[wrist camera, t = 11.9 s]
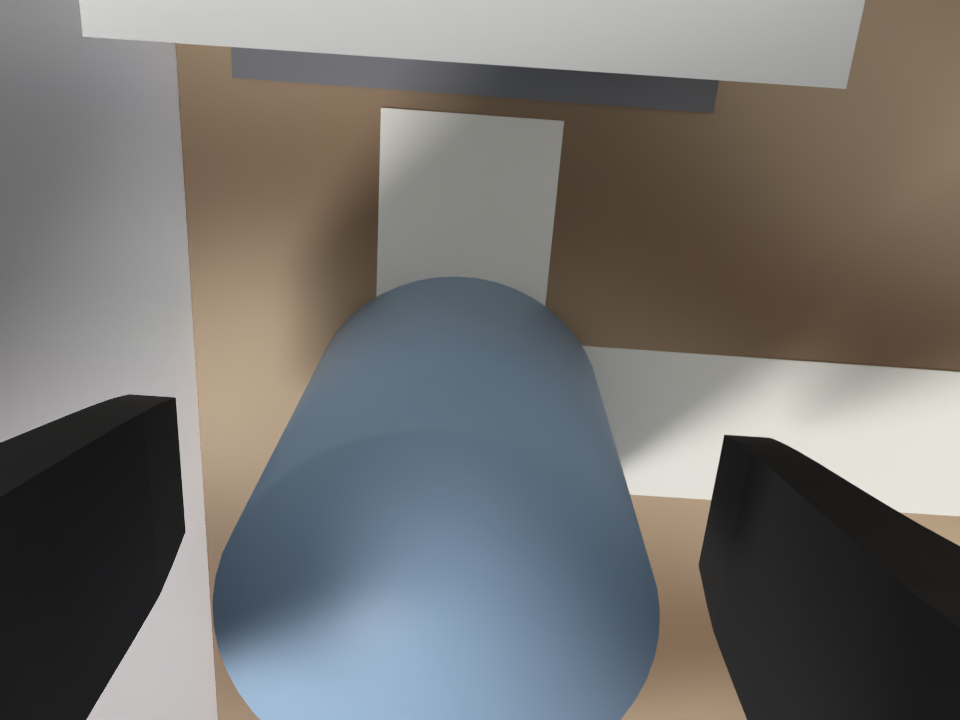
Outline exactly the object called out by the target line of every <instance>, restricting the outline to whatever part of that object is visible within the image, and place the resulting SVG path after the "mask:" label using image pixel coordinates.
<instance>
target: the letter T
mask: <svg viewBox="0 0 960 720" xmlns="http://www.w3.org/2000/svg"><path fill="white" fill-rule="evenodd" d="M563 128H564V121H559V120H545V119H531V118H518V117H504V116H490V115H476V114H462V113H449V112H435V111H421V110H407V109H393V108H381V124H380V166H379V209H378V251H377V294H376V297H378V296H379V295H381V294H383V293H385V292H387V291H390V290H392V289H394V288H396V287H398V286H402V285H405V284H408V283H412V282H415V281H419V280H425V279H430V278H436V277H468V278H478V279H483V280H487V281H492V282H497V283H500V284H502V285H505V286H508V287H511V288H514V289H516V290H518V291H520V292H522V293H524V294H526V295H528V296H530V297H532V298H534V299H535V300H537V301H538V302H540V303H541V304H543V305H544V306H545V303H546V293H547V284H548V274H549V264H550V254H551V245H552V235H553V225H554V215H555V206H556V196H557V186H558V176H559V167H560V157H561V147H562V137H563ZM582 347H583V349H584V350H585V352H586V354H587V356H588V358H589V361H590V363H591V365H592V367H593V371H594V374H595V377H596V381H597V384H598V388H599V391H600V394H601V398H602V401H603V405H604V408H605V411H606V415H607V418H608V422H609V425H610V428H611V432H612V435H613V439H614V442H615V446H616V449H617V452H618V456H619V459H620V463H621V466H622V469H623V473H624V476H625V480H626V483H627V486H628V490H629V493H630V495H644V496H659V497H674V498H689V499H705V500H711V499H712V494H713V489H714V484H715V479H716V474H717V469H718V464H719V459H720V454H721V449H722V444H723V439H724V435H736V436H751V437H766V438H772V439H775V440H777V441H779V442H782V443H784V444H786V445H788V446H790V447H791V448H793V449H795V450H797V451H799V452H800V453H802V454H804V455H806V456H807V457H809V458H811V459H812V460H814V461H816V462H817V463H819V464H821V465H822V466H824V467H826V468H827V469H829V470H831V471H832V472H834V473H835V474H837V475H839V476H840V477H842V478H844V479H845V480H847V481H848V482H850V483H852V484H853V485H855V486H857V487H858V488H860V489H861V490H863V491H865V492H866V493H868V494H870V495H871V496H873V497H875V498H876V499H878V500H880V501H881V502H883V503H885V504H886V505H888V506H890V507H891V508H893V509H895V510H896V511H898V512H901V513H916V514H931V515H946V516H960V372H958V371H943V370H929V369H914V368H900V367H885V366H870V365H856V364H841V363H827V362H812V361H798V360H783V359H769V358H754V357H740V356H725V355H710V354H696V353H681V352H667V351H652V350H638V349H623V348H609V347H594V346H582Z"/></svg>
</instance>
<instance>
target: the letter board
mask: <svg viewBox="0 0 960 720" xmlns="http://www.w3.org/2000/svg"><path fill="white" fill-rule="evenodd" d="M176 57H177V73H178V89H179V105H180V121H181V137H182V153H183V169H184V185H185V201H186V217H187V233H188V249H189V265H190V281H191V297H192V313H193V329H194V345H195V361H196V377H197V393H198V409H199V425H200V441H201V457H202V473H203V489H204V505H205V521H206V537H207V553H208V569H209V585H210V601H211V617H212V633H213V649H214V665H215V680H216V696H217V712H218V720H260V719H259V718H258V717H257V716H256V715H255V714H254V713H253V712H252V710H251V709H250V707H249V706H248V705H247V703H246V702H245V701H244V699H243V698H242V697H241V695H240V694H239V692H238V691H237V689H236V687H235V685H234V683H233V682H232V680H231V678H230V676H229V674H228V672H227V671H226V668H225V665H224V662H223V660H222V657H221V654H220V652H219V649H218V645H217V640H216V635H215V630H214V625H213V602H212V601H213V592H214V584H215V576H216V573H217V570H218V566H219V563H220V559H221V556H222V553H223V551H224V549H225V546H226V544H227V542H228V540H229V538H230V536H231V534H232V532H233V530H234V528H235V526H236V524H237V522H238V520H239V518H240V516H241V514H242V512H243V510H244V508H245V506H246V504H247V502H248V500H249V498H250V496H251V495H252V493H253V491H254V489H255V487H256V485H257V483H258V481H259V479H260V477H261V475H262V473H263V471H264V469H265V467H266V465H267V463H268V461H269V459H270V457H271V455H272V453H273V451H274V450H275V448H276V446H277V444H278V442H279V440H280V438H281V436H282V434H283V432H284V430H285V428H286V426H287V424H288V422H289V420H290V418H291V416H292V414H293V412H294V410H295V408H296V406H297V404H298V403H299V401H300V399H301V397H302V395H303V393H304V391H305V389H306V387H307V385H308V383H309V381H310V379H311V377H312V375H313V373H314V371H315V369H316V367H317V365H318V363H319V361H320V359H321V358H322V356H323V354H324V352H325V350H326V348H327V346H328V344H329V343H330V341H331V340H332V338H333V337H334V335H335V334H336V332H337V331H338V330H339V329H340V327H341V326H342V325H343V324H344V323H345V322H346V321H347V320H348V319H349V317H350V316H352V315H353V314H354V313H355V312H356V311H358V310H359V309H360V308H361V307H362V306H364V305H365V304H366V303H368V302H370V301H371V300H373V299H374V298H376V294H377V251H378V209H379V166H380V124H381V108H393V109H407V110H421V111H435V112H449V113H462V114H476V115H490V116H504V117H518V118H531V119H545V120H559V121H564V128H563V137H562V147H561V157H560V167H559V176H558V186H557V196H556V206H555V215H554V225H553V235H552V245H551V254H550V264H549V274H548V284H547V293H546V303H545V306H546V307H547V308H549V309H550V310H551V311H552V312H553V313H554V314H555V315H557V316H558V317H559V318H560V319H561V320H562V321H563V322H564V323H565V324H566V325H567V326H568V328H569V329H570V330H571V331H572V332H573V334H574V335H575V336H576V338H577V339H578V341H579V342H580V344H581V345H582V346H594V347H609V348H623V349H638V350H652V351H667V352H681V353H696V354H710V355H725V356H740V357H754V358H769V359H783V360H798V361H812V362H827V363H841V364H856V365H870V366H885V367H900V368H914V369H929V370H943V371H958V372H960V0H865V4H864V8H863V13H862V17H861V22H860V27H859V31H858V36H857V41H856V45H855V50H854V54H853V59H852V64H851V68H850V73H849V78H848V82H847V87H846V89H839V88H825V87H810V86H795V85H781V84H766V83H752V82H737V81H722V80H708V79H693V78H678V77H664V76H649V75H634V74H620V73H605V72H591V71H576V70H561V69H547V68H532V67H517V66H503V65H488V64H474V63H459V62H444V61H430V60H415V59H400V58H386V57H371V56H356V55H342V54H327V53H313V52H298V51H283V50H269V49H254V48H239V47H225V46H210V45H196V44H181V43H176ZM630 497H631V500H632V503H633V507H634V510H635V514H636V517H637V520H638V524H639V527H640V531H641V534H642V537H643V541H644V544H645V548H646V551H647V554H648V558H649V561H650V565H651V568H652V571H653V575H654V578H655V582H656V585H657V591H658V599H659V607H660V626H659V638H658V643H657V648H656V653H655V658H654V661H653V664H652V666H651V669H650V672H649V674H648V677H647V680H646V682H645V684H644V685H643V687H642V689H641V691H640V693H639V694H638V696H637V698H636V700H635V701H634V703H633V704H632V705H631V707H630V708H629V709H628V711H627V712H626V713H625V715H624V716H623V717H622V719H621V720H747V719H746V716H745V713H744V711H743V708H742V706H741V703H740V701H739V698H738V695H737V693H736V690H735V688H734V685H733V683H732V680H731V677H730V675H729V672H728V669H727V667H726V664H725V661H724V659H723V656H722V654H721V651H720V648H719V646H718V643H717V640H716V637H715V635H714V632H713V628H712V624H711V620H710V616H709V612H708V608H707V603H706V599H705V594H704V589H703V585H702V580H701V575H700V570H699V560H700V555H701V550H702V545H703V540H704V535H705V530H706V525H707V520H708V515H709V509H710V504H711V500H705V499H689V498H674V497H659V496H644V495H630ZM900 513H901V512H900ZM901 514H903V515H905V516H907V517H908V518H910V519H912V520H914V521H915V522H917V523H919V524H920V525H922V526H924V527H926V528H928V529H929V530H931V531H933V532H935V533H937V534H939V535H940V536H942V537H944V538H946V539H948V540H950V541H951V542H953V543H955V544H957V545H959V546H960V516H946V515H931V514H916V513H901Z"/></svg>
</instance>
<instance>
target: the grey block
mask: <svg viewBox="0 0 960 720" xmlns="http://www.w3.org/2000/svg"><path fill="white" fill-rule="evenodd" d="M864 4H865V0H79V7H80V16H81V25H82V35H83V37H93V38H108V39H122V40H137V41H152V42H166V43H181V44H196V45H210V46H225V47H239V48H254V49H269V50H283V51H298V52H313V53H327V54H342V55H356V56H371V57H386V58H400V59H415V60H430V61H444V62H459V63H474V64H488V65H503V66H517V67H532V68H547V69H561V70H576V71H591V72H605V73H620V74H634V75H649V76H664V77H678V78H693V79H708V80H722V81H737V82H752V83H766V84H781V85H795V86H810V87H825V88H839V89H846V87H847V82H848V78H849V73H850V68H851V64H852V59H853V54H854V50H855V45H856V41H857V36H858V31H859V27H860V22H861V17H862V13H863V8H864Z"/></svg>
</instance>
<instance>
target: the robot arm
mask: <svg viewBox="0 0 960 720" xmlns="http://www.w3.org/2000/svg"><path fill="white" fill-rule="evenodd" d="M184 534H185V520H184V507H183V493H182V479H181V466H180V452H179V438H178V425H177V411H176V398H173V397H158V396H143V395H125V396H121V397H117V398H113V399H110V400H107V401H104V402H101V403H98V404H96V405H93V406H90V407H88V408H85V409H82V410H80V411H77V412H75V413H72V414H70V415H67V416H65V417H62V418H60V419H58V420H55V421H53V422H50V423H48V424H45V425H43V426H40V427H38V428H36V429H33V430H31V431H28V432H26V433H23V434H21V435H18V436H16V437H14V438H11V439H9V440H6V441H4V442H1V443H0V720H86V719H87V717H88V716H89V714H90V712H91V711H92V709H93V707H94V706H95V704H96V702H97V701H98V699H99V697H100V695H101V694H102V692H103V690H104V689H105V687H106V685H107V684H108V682H109V680H110V679H111V677H112V675H113V674H114V672H115V670H116V669H117V667H118V665H119V664H120V662H121V660H122V659H123V657H124V655H125V654H126V652H127V650H128V649H129V647H130V645H131V644H132V642H133V640H134V639H135V637H136V635H137V633H138V632H139V630H140V628H141V627H142V625H143V623H144V621H145V620H146V618H147V616H148V615H149V613H150V611H151V609H152V608H153V606H154V604H155V602H156V601H157V599H158V597H159V595H160V593H161V591H162V588H163V586H164V584H165V581H166V579H167V577H168V574H169V572H170V570H171V567H172V565H173V562H174V560H175V557H176V555H177V552H178V549H179V547H180V544H181V542H182V539H183V537H184ZM699 570H700V575H701V580H702V585H703V589H704V594H705V599H706V603H707V608H708V612H709V616H710V620H711V624H712V628H713V632H714V635H715V637H716V640H717V643H718V646H719V648H720V651H721V654H722V656H723V659H724V661H725V664H726V667H727V669H728V672H729V675H730V677H731V680H732V683H733V685H734V688H735V690H736V693H737V695H738V698H739V701H740V703H741V706H742V708H743V711H744V713H745V716H746V719H747V720H960V546H959V545H957V544H955V543H953V542H951V541H950V540H948V539H946V538H944V537H942V536H940V535H939V534H937V533H935V532H933V531H931V530H929V529H928V528H926V527H924V526H922V525H920V524H919V523H917V522H915V521H914V520H912V519H910V518H908V517H907V516H905V515H903V514H901V513H900V512H898V511H896V510H895V509H893V508H891V507H890V506H888V505H886V504H885V503H883V502H881V501H880V500H878V499H876V498H875V497H873V496H871V495H870V494H868V493H866V492H865V491H863V490H861V489H860V488H858V487H857V486H855V485H853V484H852V483H850V482H848V481H847V480H845V479H844V478H842V477H840V476H839V475H837V474H835V473H834V472H832V471H831V470H829V469H827V468H826V467H824V466H822V465H821V464H819V463H817V462H816V461H814V460H812V459H811V458H809V457H807V456H806V455H804V454H802V453H800V452H799V451H797V450H795V449H793V448H791V447H790V446H788V445H786V444H784V443H782V442H779V441H777V440H775V439H772V438H766V437H751V436H736V435H724V439H723V444H722V449H721V454H720V459H719V464H718V469H717V474H716V479H715V484H714V489H713V494H712V499H711V504H710V509H709V515H708V520H707V525H706V530H705V535H704V540H703V545H702V550H701V555H700V560H699Z"/></svg>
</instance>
